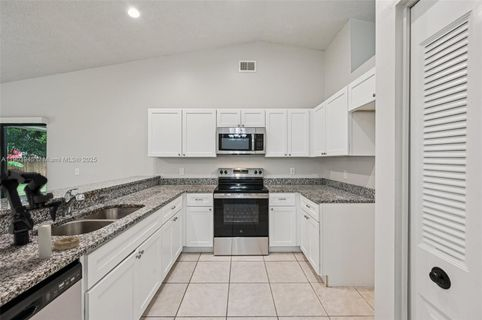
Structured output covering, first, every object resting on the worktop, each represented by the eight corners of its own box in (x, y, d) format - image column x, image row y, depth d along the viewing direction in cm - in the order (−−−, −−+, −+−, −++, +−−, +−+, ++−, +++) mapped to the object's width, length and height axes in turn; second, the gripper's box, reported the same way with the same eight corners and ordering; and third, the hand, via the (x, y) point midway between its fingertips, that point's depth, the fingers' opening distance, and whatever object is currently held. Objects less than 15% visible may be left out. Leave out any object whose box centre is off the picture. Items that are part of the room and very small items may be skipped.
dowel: (36, 258, 109) (35, 227, 108) (46, 254, 113) (45, 224, 113) (43, 259, 108) (42, 228, 107) (54, 255, 112) (53, 225, 112)
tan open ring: (49, 248, 120) (49, 242, 120) (68, 241, 130) (68, 235, 130) (65, 250, 118) (65, 244, 117) (83, 243, 127) (83, 237, 127)
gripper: (15, 190, 108) (25, 222, 104) (62, 184, 124) (72, 212, 121) (6, 201, 112) (15, 232, 109) (53, 195, 129) (62, 221, 125)
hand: (43, 224), depth 116 cm, fingers open, 9 cm apart
